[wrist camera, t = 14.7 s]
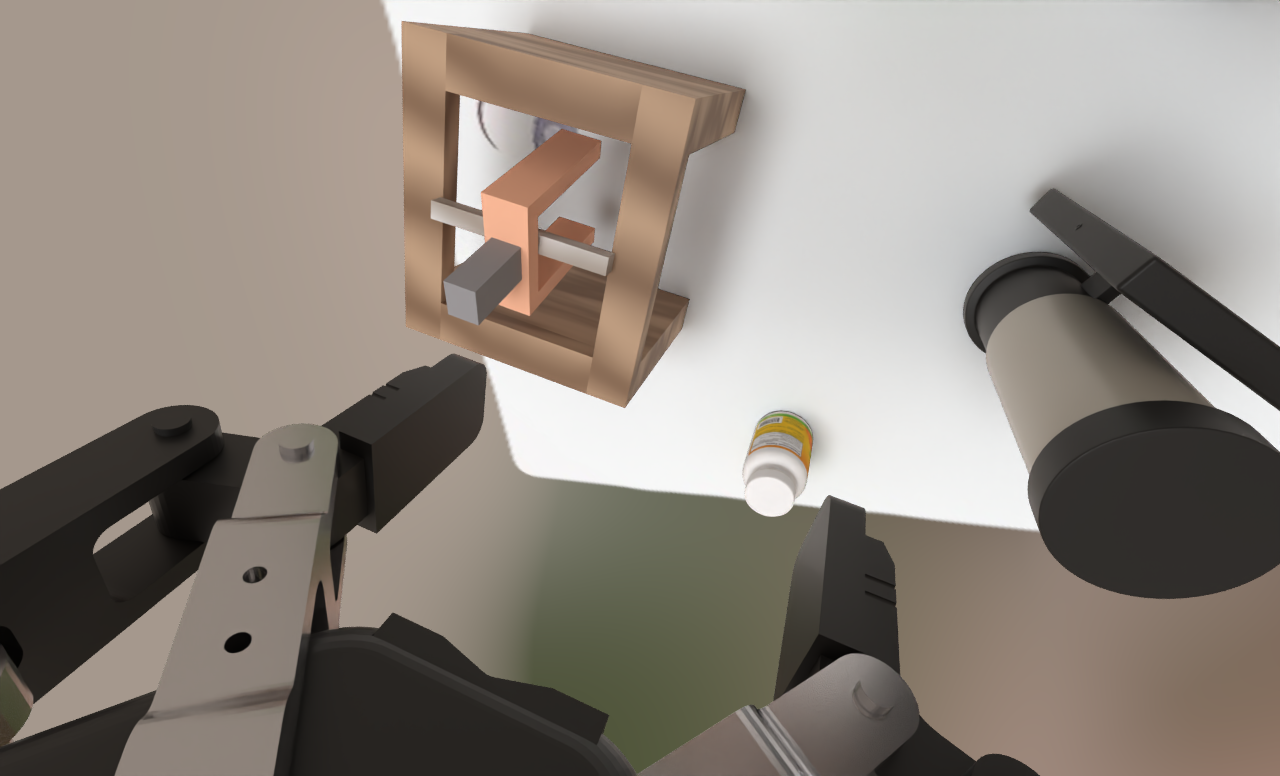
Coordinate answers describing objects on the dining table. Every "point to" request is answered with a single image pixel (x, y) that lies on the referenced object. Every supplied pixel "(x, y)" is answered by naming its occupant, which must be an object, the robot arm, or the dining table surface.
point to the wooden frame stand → (597, 282)
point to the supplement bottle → (777, 463)
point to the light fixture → (1129, 415)
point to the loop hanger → (521, 232)
